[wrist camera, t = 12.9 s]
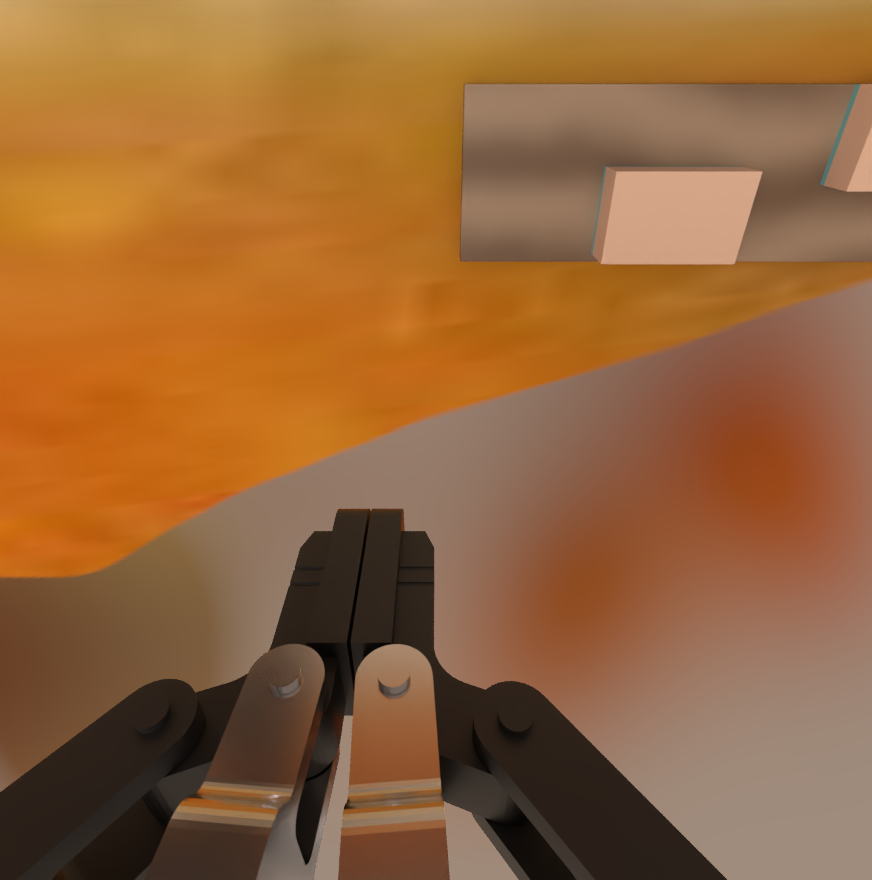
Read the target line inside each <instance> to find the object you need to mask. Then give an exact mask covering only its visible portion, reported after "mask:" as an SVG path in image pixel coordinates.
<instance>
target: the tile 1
mask: <svg viewBox="0 0 872 880" xmlns="http://www.w3.org/2000/svg"><path fill="white" fill-rule="evenodd" d="M761 175H762V171H759V170H755V169H751V168H747V167H743V166H605V167H604V173H603V179H602V186H601V192H600V199H599V205H598V211H597V218H596V224H595V231H594V237H593V244H592V250H591V254H592V255H593V256H594V257H595V258H596V259H597V260H598V262H599V263H600V264H735V261H736V258H737V255H738V251H739V248H740V245H741V241H742V238H743V235H744V231H745V228H746V225H747V222H748V218H749V215H750V212H751V208H752V205H753V202H754V198H755V195H756V192H757V189H758V185H759V182H760V179H761Z"/></svg>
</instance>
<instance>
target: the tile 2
mask: <svg viewBox="0 0 872 880" xmlns="http://www.w3.org/2000/svg"><path fill="white" fill-rule="evenodd" d="M820 185H823V186H827V187H831V188H835V189H838V190H842V191H846V192H872V84H856V85H855V88H854V91H853V94H852V96H851V99H850V102H849V105H848V107H847V110H846V113H845V116H844V119H843V121H842V124H841V127H840V130H839V132H838V135H837V138H836V141H835V143H834V146H833V149H832V152H831V155H830V157H829V160H828V163H827V166H826V168H825V171H824V174H823V177H822V180H821V182H820Z"/></svg>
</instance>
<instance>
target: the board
mask: <svg viewBox="0 0 872 880" xmlns="http://www.w3.org/2000/svg"><path fill="white" fill-rule="evenodd" d="M855 85H856V84H464V105H463V146H462V188H461V229H460V261H598V260H597V259H596V258H595V257H594V256H593V255H592V254H591V250H592V244H593V237H594V231H595V224H596V218H597V211H598V205H599V199H600V192H601V186H602V179H603V173H604V167H605V166H743V167H747V168H751V169H755V170H759V171H762V175H761V179H760V182H759V185H758V189H757V192H756V195H755V198H754V202H753V205H752V208H751V212H750V215H749V218H748V222H747V225H746V228H745V231H744V235H743V238H742V241H741V245H740V248H739V251H738V255H737V258H736V261H735V262H872V192H846V191H842V190H838V189H835V188H831V187H827V186H823V185H820V182H821V180H822V177H823V174H824V171H825V168H826V166H827V163H828V160H829V157H830V155H831V152H832V149H833V146H834V143H835V141H836V138H837V135H838V132H839V130H840V127H841V124H842V121H843V119H844V116H845V113H846V110H847V107H848V105H849V102H850V99H851V96H852V94H853V91H854V88H855Z"/></svg>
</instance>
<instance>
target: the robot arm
mask: <svg viewBox="0 0 872 880" xmlns="http://www.w3.org/2000/svg"><path fill="white" fill-rule="evenodd" d="M344 715H353V725H352V743H351V759H350V777H349V792H348V800H347V803H346V804H345V806H344V811H343V818H342V828H341V843H340V857H339V874H338V880H450V875H449V864H448V863H449V862H448V849H447V836H446V823H445V811H444V802H443V801H445V802H447V803H450V804H452V805H455V806H457V807H460V808H462V809H465V810H467V811H469V812H472V815H473V817H474V818H475V820H476V822H477V823H478V824H479V826H480V827H481V829H482V830H483V831H484V833H485V834H486V835H487V837H488V838H489V839H490V841H491V842H492V843H493V845H494V846H495V848H496V849H497V850H498V852H499V853H500V854H501V856H502V857H503V859H504V860H505V861H506V863H507V864H508V865H509V867H510V868H511V869H512V871H513V872H514V874H515V875H516V876H517V878H518V879H519V880H727V879H726V878H725V877H724V876H723V875H722V874H721V873H720V872H719V871H718V870H717V869H716V868H715V867H714V866H713V865H712V864H711V863H710V862H709V861H708V860H707V859H706V858H705V857H704V856H703V855H702V854H701V853H700V852H699V851H698V850H697V849H696V848H695V847H694V846H693V845H692V844H691V843H690V842H689V841H688V840H687V839H686V838H685V837H684V836H683V835H682V834H681V833H680V832H679V831H678V830H677V829H676V828H675V827H674V826H673V825H672V824H671V823H670V822H669V821H668V820H667V819H666V818H665V817H664V816H663V815H662V814H661V813H660V812H659V811H658V810H657V809H656V808H655V807H654V806H653V805H652V804H651V803H650V802H649V801H648V800H647V799H646V798H645V797H644V796H643V795H642V794H641V793H640V792H639V791H638V790H637V789H636V788H635V787H634V786H633V785H632V784H631V783H630V782H629V781H628V780H627V779H626V778H625V777H624V776H623V775H622V774H621V773H620V772H619V771H618V770H617V769H616V768H615V767H614V766H613V765H612V764H611V763H610V762H609V761H608V760H607V759H606V758H605V757H604V756H603V755H602V754H601V753H600V752H599V751H598V750H597V749H596V748H595V747H594V746H593V745H592V744H591V743H590V742H589V741H588V740H587V739H586V738H585V737H584V736H583V735H582V734H581V733H580V732H579V731H578V730H577V729H576V728H575V727H574V725H573V724H572V723H571V722H570V721H569V720H568V719H566V717H565V716H564V715H562V714H561V713H560V711H558V709H557V708H556V707H555V706H554V705H553V704H552V703H550V701H549V700H548V699H547V698H545V696H544V695H542V694H541V693H540V692H539V691H538V690H536V689H535V688H533V687H531V686H529V685H527V684H524V683H520V682H515V681H505V682H501V683H497V684H495V685H492V686H491V687H489V688H488V689H486V690H484V689H481V688H478V687H476V686H472V685H469V684H467V683H464V682H462V681H459V680H457V679H456V678H454V677H452V676H451V675H450V674H448V673H447V672H446V671H445V670H444V669H443V668H442V666H441V665H440V664H439V662H438V660H437V658H436V655H435V651H434V547H433V545H432V543H431V541H430V539H429V538H428V536H427V534H426V532H425V531H404V511H403V509H372V510H371V511H370V509H338V511H337V513H336V517H335V522H334V526H333V530H332V531H314V533H313V534H312V535H311V536H310V537H309V538H308V540H307V541H306V542H305V543H304V544H303V546H302V547H301V548H300V551H299V555H298V558H297V562H296V565H295V570H294V572H293V575H292V578H291V581H290V586H289V588H288V592H287V595H286V599H285V602H284V605H283V608H282V612H281V615H280V618H279V622H278V625H277V629H276V632H275V635H274V639H273V642H272V645H271V647H270V650H269V651H268V652H267V653H265V654H264V655H263V656H261V657H260V658H259V659H258V660H257V661H256V662H255V664H254V665H253V666H252V667H251V669H250V671H249V673H248V674H246V675H245V676H243V677H241V678H239V679H237V680H235V681H232V682H229V683H226V684H223V685H219V686H216V687H213V688H210V689H206V690H203V691H199V692H197V693H195V692H194V690H193V689H192V687H191V686H190V685H188V684H187V683H185V682H183V681H181V680H177V679H164V680H159V681H154V682H152V683H149V684H147V685H145V686H143V687H141V688H139V689H138V690H136V691H135V692H133V693H132V694H131V695H129V696H128V697H127V698H125V699H124V700H123V701H121V702H120V703H119V704H117V705H116V706H115V707H113V708H112V709H111V710H109V711H108V712H107V713H105V714H104V715H103V716H101V717H100V718H99V719H97V720H96V721H95V722H93V723H92V724H91V725H89V726H88V727H87V728H85V729H84V730H83V731H81V732H80V733H79V734H77V735H76V736H75V737H73V738H72V739H71V740H69V741H68V742H67V743H65V744H64V745H63V746H61V747H60V748H59V749H57V750H56V751H55V752H53V753H52V754H51V755H49V756H48V757H47V758H45V759H44V760H43V761H41V762H40V763H39V764H37V765H36V766H35V767H33V768H32V769H31V770H29V771H28V772H27V773H25V774H24V775H23V776H21V777H20V778H19V779H17V780H16V781H15V782H13V783H12V784H11V785H9V786H8V787H7V788H5V789H4V790H3V791H2V792H0V880H314V876H315V869H316V863H317V858H318V853H319V848H320V844H321V840H322V835H323V830H324V826H325V821H326V816H327V812H328V807H329V803H330V798H331V794H332V788H333V784H334V780H335V775H336V771H337V766H338V761H339V755H340V746H339V745H340V739H341V732H342V726H343V719H344Z"/></svg>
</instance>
